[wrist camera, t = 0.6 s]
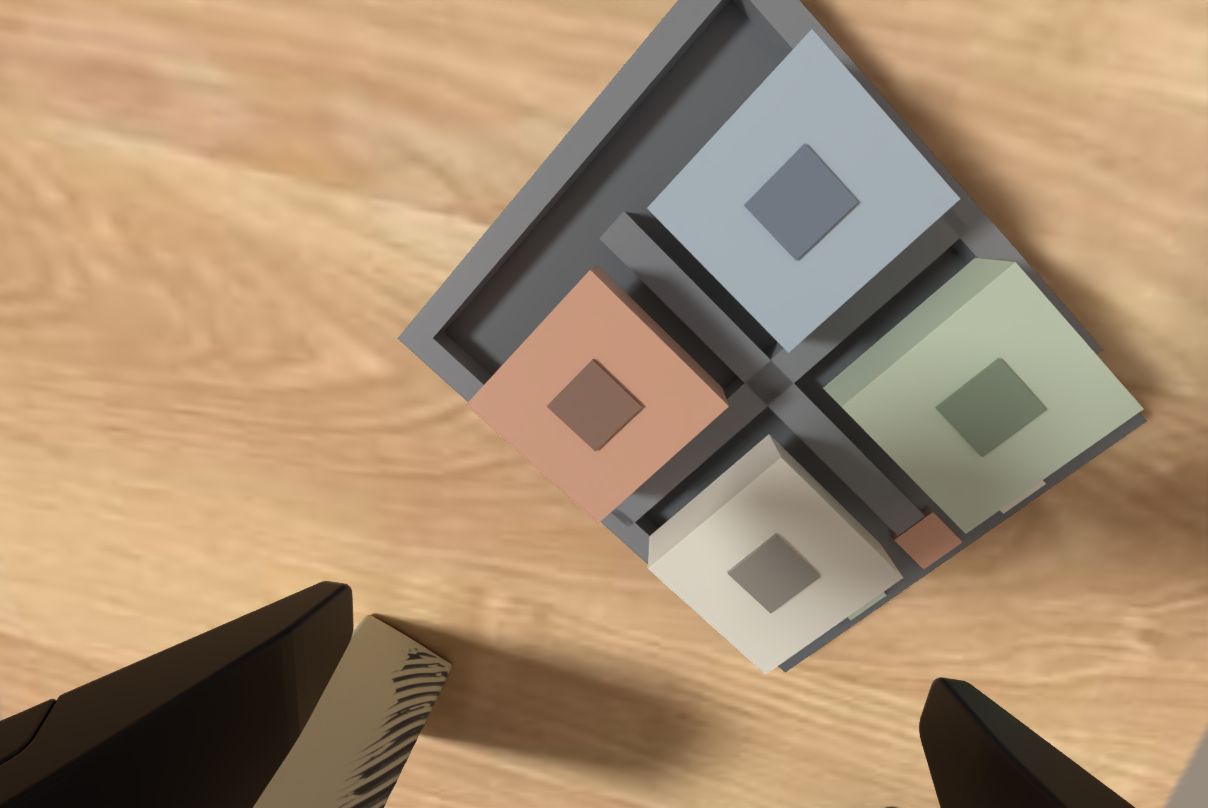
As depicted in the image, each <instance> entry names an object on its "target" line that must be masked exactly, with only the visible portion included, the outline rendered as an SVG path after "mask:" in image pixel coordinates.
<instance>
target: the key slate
mask: <svg viewBox="0 0 1208 808" xmlns="http://www.w3.org/2000/svg"><path fill="white" fill-rule="evenodd" d="M959 200H960V198H959V197H958V196H957V194H956V193H955V192H954V191H953V190H952V189H951V188H950V186H949V185H948V184H947V183H946V182H945V181H944V180H943V178H942V177H941V176H940V175H939V174H938V173H937V172H936V170H935V169H934V168H933V167H932V166H931V165H930V164H929V162H928V161H927V160H926V159H925V158H924V157H923V156H922V154H921V153H920V152H919V151H918V150H917V149H916V148H915V146H914V145H913V144H912V143H911V142H910V141H909V140H908V138H907V137H906V136H905V135H904V134H903V133H902V131H901V130H900V129H899V128H898V127H897V126H896V125H895V123H894V122H893V121H892V120H891V119H890V118H889V117H888V115H887V114H886V113H885V112H884V111H883V110H882V109H881V107H880V106H879V105H878V104H877V103H876V102H875V101H874V99H873V98H872V97H871V96H870V95H869V94H868V93H867V91H866V90H865V89H864V88H863V87H862V86H861V85H860V83H859V82H858V81H857V80H856V79H855V78H854V77H853V75H852V74H851V73H850V72H849V71H848V70H847V69H846V67H845V66H844V65H843V64H842V63H841V62H840V61H839V59H838V58H837V57H836V56H835V55H834V54H833V52H832V51H831V50H830V49H829V48H828V47H827V46H826V44H825V43H824V42H823V41H822V40H821V39H820V38H819V36H818V35H817V34H816V33H815V32H814V31H813V30H812V29H811V30H810V32H809V33H808V34H807V35H806V36H805V37H804V38H803V39H802V40H801V41H800V42H799V43H798V45H797V46H796V47H795V48H794V49H793V50H792V51H791V52H790V53H789V54H788V55H787V57H786V58H785V59H784V60H783V61H782V62H781V63H780V64H779V65H778V66H777V67H776V68H775V70H774V71H773V72H772V73H771V74H770V75H769V76H768V77H767V78H766V79H765V80H764V81H763V83H762V84H761V85H760V86H759V87H758V88H757V89H756V90H755V91H754V92H753V93H752V95H751V96H750V97H749V98H748V99H747V100H746V101H745V102H744V103H743V104H742V105H741V106H740V108H739V109H738V110H737V111H736V112H735V113H734V114H733V115H732V116H731V117H730V118H729V120H728V121H727V122H726V123H725V124H724V125H723V126H722V127H721V128H720V129H719V130H718V131H717V133H716V134H715V135H714V136H713V137H712V138H711V139H710V140H709V141H708V142H707V143H706V144H705V146H704V147H703V148H702V149H701V150H700V151H699V152H698V153H697V154H696V155H695V156H694V158H693V159H692V160H691V161H690V162H689V163H688V164H687V165H686V166H685V167H684V168H683V169H682V171H681V172H680V173H679V174H678V175H677V176H676V177H675V178H674V179H673V180H672V181H671V183H670V184H669V185H668V186H667V187H666V188H665V189H664V190H663V191H662V192H661V193H660V194H659V196H658V197H657V198H656V199H655V200H654V201H653V202H652V203H651V204H650V205H649V206H648V207H647V209H648V210H649V211H650V212H651V213H652V214H653V215H654V216H655V217H656V218H657V219H658V220H659V221H660V222H661V223H662V224H663V225H664V226H665V227H666V228H667V229H668V230H669V231H670V232H671V233H672V234H673V235H674V236H675V237H676V238H677V239H678V240H679V241H680V242H681V244H682V245H683V246H684V247H685V248H686V249H687V250H688V251H689V252H690V253H691V254H692V255H693V256H694V257H695V258H696V259H697V260H698V261H699V262H700V263H701V264H702V265H703V266H704V267H705V268H706V269H707V270H708V271H709V272H710V273H711V274H712V275H713V276H714V277H715V278H716V279H717V280H718V281H719V282H720V283H721V284H722V285H723V286H724V287H725V288H726V289H727V291H728V292H729V293H730V294H731V295H732V296H733V297H734V298H735V299H736V300H737V301H738V302H739V303H740V304H741V305H742V306H743V307H744V308H745V309H746V310H747V311H748V312H749V313H750V314H751V315H752V316H753V317H754V318H755V319H756V320H757V321H758V322H759V323H760V324H761V325H762V326H763V327H764V328H765V329H766V330H767V331H768V332H769V333H770V334H771V335H772V336H773V338H774V339H775V340H776V341H777V342H778V343H779V344H780V345H781V346H782V347H783V348H784V349H785V350H786V351H787V352H788V353H789V352H790V351H791V350H792V349H794V348H795V347H796V346H797V345H798V344H799V343H800V342H801V341H802V340H804V339H805V338H806V337H807V336H808V335H809V334H810V333H811V332H812V331H814V330H815V329H816V328H817V327H818V326H819V325H820V324H821V323H823V322H824V321H825V320H826V319H827V318H828V317H829V316H830V315H831V314H833V313H834V312H835V311H836V310H837V309H838V308H839V307H840V306H841V305H843V304H844V303H845V302H846V301H847V300H848V299H849V298H850V297H852V296H853V295H854V294H855V293H856V292H857V291H858V290H859V289H860V288H862V287H863V286H864V285H865V284H866V283H867V282H868V281H869V280H870V279H872V278H873V277H874V276H875V275H876V274H877V273H878V272H879V271H881V270H882V269H883V268H884V267H885V266H886V265H887V264H888V263H889V262H891V261H892V260H893V259H894V258H895V257H896V256H897V255H898V254H900V253H901V252H902V251H903V250H904V249H905V248H906V247H907V246H908V245H910V244H911V243H912V242H913V241H914V240H915V239H916V238H917V237H918V236H920V235H921V234H922V233H923V232H924V231H925V230H926V229H927V228H929V227H930V226H931V225H932V224H933V223H934V222H935V221H936V220H937V219H939V218H940V217H941V216H942V215H943V214H944V213H945V212H946V211H947V210H949V209H950V208H951V207H952V206H953V205H954V204H955V203H956V202H958V201H959Z"/></svg>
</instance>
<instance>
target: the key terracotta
mask: <svg viewBox="0 0 1208 808" xmlns="http://www.w3.org/2000/svg"><path fill="white" fill-rule="evenodd" d="M466 405H467V406H468V407H469V408H470V409H471V410H472V411H474V412H475V413H476V414H477V415H478V416H479V417H480V418H481V419H482V420H484V421H485V422H486V423H487V424H488V425H489V426H490V427H491V428H492V429H493V430H495V431H496V432H497V433H498V434H499V435H500V436H501V437H502V438H503V439H505V440H506V441H507V442H508V443H509V444H510V445H511V446H512V447H513V448H515V449H516V450H517V451H518V452H519V453H520V454H521V455H522V456H523V457H525V458H526V459H527V460H528V461H529V462H530V463H531V464H532V465H533V466H535V467H536V468H537V469H538V470H539V471H540V472H541V473H542V474H543V475H545V476H546V477H547V478H548V479H549V480H550V481H551V482H552V483H553V484H555V485H556V486H557V487H558V488H559V489H560V490H561V491H562V492H563V493H564V494H566V495H567V496H568V497H569V498H570V499H571V500H572V501H573V502H574V503H576V504H577V505H578V506H579V507H580V508H581V509H582V510H583V511H584V512H586V513H587V514H588V515H589V516H590V517H591V518H592V519H593V520H594V521H596V522H597V523H599V522H601V521H602V520H603V519H604V518H605V517H606V516H607V515H608V514H609V513H611V512H612V511H613V510H614V509H615V508H616V507H617V506H618V505H619V504H621V503H622V502H623V501H624V500H625V499H626V498H627V497H628V496H630V495H631V494H632V493H633V492H634V491H635V490H636V489H637V488H638V487H640V486H641V485H642V484H643V483H644V482H645V481H646V480H647V479H649V478H650V477H651V476H652V475H653V474H654V473H655V472H656V471H657V470H659V469H660V468H661V467H662V466H663V465H664V464H665V463H666V462H667V461H669V460H670V459H671V458H672V457H673V456H674V455H675V454H676V453H678V452H679V451H680V450H681V449H682V448H683V447H684V446H685V445H686V444H688V443H689V442H690V441H691V440H692V439H693V438H694V437H695V436H696V435H698V434H699V433H700V432H701V431H702V430H703V429H704V428H705V427H707V426H708V425H709V424H710V423H711V422H712V421H713V420H714V419H715V418H717V417H718V416H719V415H720V414H721V413H722V412H723V411H724V410H725V409H727V408H728V407H729V405H728V402H727V399H726V397H725V394H724V391H723V388H722V387H721V386H720V385H719V384H718V383H717V382H716V381H715V380H714V379H713V378H712V377H711V376H710V375H709V374H708V373H707V372H706V371H705V370H704V369H703V368H702V367H701V366H700V365H699V364H698V363H697V362H696V361H695V360H694V359H693V358H692V357H691V356H690V355H689V354H688V353H687V352H686V351H685V350H684V349H683V348H682V347H681V346H679V345H678V344H677V343H676V342H675V341H674V340H673V339H672V338H671V337H670V336H669V335H668V334H667V333H666V332H665V331H664V330H663V329H662V328H661V327H660V326H659V325H658V324H657V323H656V322H655V321H654V320H653V319H652V318H651V317H650V316H649V315H648V314H647V313H646V312H645V311H644V310H643V309H642V308H641V307H640V306H639V305H638V304H637V303H636V302H635V301H634V300H633V299H632V298H631V297H630V296H629V295H628V294H627V293H626V292H625V291H624V290H623V289H622V288H621V287H620V286H619V285H618V284H617V283H616V282H615V281H614V280H613V279H612V278H611V277H610V276H609V275H608V274H607V273H605V272H604V271H603V270H602V269H601V268H600V267H599V266H598V265H597V266H596V267H594V268H592V269H591V270H590V271H589V272H588V273H587V274H586V275H585V276H584V277H583V278H582V279H581V280H580V281H579V282H578V284H577V285H576V286H575V287H574V288H573V289H572V290H571V291H570V292H569V293H568V294H567V295H566V297H565V298H564V299H563V300H562V301H561V302H560V303H559V304H558V305H557V306H556V307H555V309H554V310H553V311H552V312H551V313H550V314H549V315H548V316H547V317H546V318H545V319H544V320H543V322H542V323H541V324H540V325H539V326H538V327H537V328H536V329H535V330H534V331H533V332H532V334H531V335H530V336H529V337H528V338H527V339H526V340H525V341H524V342H523V343H522V344H521V345H520V347H519V348H518V349H517V350H516V351H515V352H514V353H513V354H512V355H511V356H510V357H509V358H508V360H507V361H506V362H505V363H504V364H503V365H502V366H501V367H500V368H499V369H498V370H497V372H496V373H495V374H494V375H493V376H492V377H491V378H490V379H489V380H488V381H487V382H486V383H485V385H484V386H483V387H482V388H481V389H480V390H479V391H478V392H477V393H476V394H475V395H474V397H473V398H472V399H471V400H470V401H469V402H468V403H467V404H466Z"/></svg>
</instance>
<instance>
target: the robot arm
mask: <svg viewBox="0 0 1208 808" xmlns="http://www.w3.org/2000/svg"><path fill="white" fill-rule="evenodd" d="M352 634H353V598H352V590H351V587H350V586H349V585H347V584H344V583H337V582H331V581H323V582H320V583H318V584H316V585H313V586H311V587H309V588H306V589H304V590H302V591H299V592H297V593H295V594H292V595H290V596H288V597H286V598H283V599H281V600H279V601H276V602H274V603H272V604H269V605H267V606H265V607H263V608H260V609H258V610H256V611H253V612H251V613H249V614H246V615H244V616H242V617H239V618H237V619H235V620H233V621H230V622H228V623H226V624H223V625H221V626H219V627H216V628H214V629H212V630H209V631H207V632H205V633H203V634H200V635H198V636H196V637H193V638H191V639H189V640H186V641H184V642H182V643H179V644H177V645H175V646H173V647H170V648H168V649H166V650H163V651H161V652H159V653H156V654H154V655H152V656H149V657H147V658H145V659H143V660H140V661H138V662H136V663H133V664H131V665H129V666H126V667H124V668H122V669H119V670H117V671H115V672H113V673H110V674H108V675H106V676H103V677H101V678H99V679H96V680H94V681H92V682H89V683H87V684H85V685H83V686H80V687H78V688H76V689H73V690H71V691H69V692H66V693H64V694H62V695H60V696H59V697H58V699H57V700H55V699H50V700H48V701H45V702H43V703H41V704H39V705H36V706H34V707H32V708H29V709H27V710H25V711H23V712H20V713H18V714H16V715H13V716H11V717H9V718H6V719H4V720H1V721H0V808H253V807H254V806H255V804H256V803H257V801H258V800H259V798H260V797H261V795H262V794H263V792H264V790H265V789H266V787H267V786H268V784H269V783H270V781H271V780H272V778H273V777H274V775H275V774H276V772H277V771H278V769H279V768H280V766H281V765H282V763H283V762H284V760H285V759H286V757H287V756H288V754H289V753H290V751H291V749H292V748H293V746H294V745H295V743H296V741H297V740H298V738H299V737H300V735H301V733H302V731H303V730H304V728H305V726H306V724H307V723H308V721H309V719H310V717H311V715H312V713H313V711H314V710H315V708H316V706H317V704H318V702H319V700H320V698H321V696H322V694H323V693H324V691H325V689H326V687H327V685H328V683H329V681H330V679H331V677H332V676H333V674H334V672H335V670H336V668H337V666H338V664H339V662H340V660H341V659H342V657H343V655H344V653H345V651H346V649H347V647H348V645H349V643H350V641H351V638H352ZM919 733H920V739H921V742H922V746H923V749H924V753H925V756H926V760H927V763H928V766H929V770H930V773H931V777H932V780H933V784H934V787H935V791H936V794H937V797H938V801H939V804H940V808H1135V807H1134V806H1132V805H1131V804H1130V803H1128V802H1127V801H1126V800H1124V799H1123V798H1122V797H1120V796H1119V795H1118V794H1116V793H1115V792H1114V791H1112V790H1111V789H1110V788H1108V787H1107V786H1106V785H1104V784H1103V783H1102V782H1100V781H1099V780H1098V779H1096V778H1095V777H1094V776H1092V775H1091V774H1090V773H1088V772H1087V771H1086V770H1084V769H1083V768H1082V767H1080V766H1079V765H1078V764H1076V763H1075V762H1074V761H1072V760H1071V759H1070V758H1068V757H1067V756H1066V755H1064V754H1063V753H1062V752H1060V751H1059V750H1058V749H1056V748H1055V747H1054V746H1052V745H1051V744H1050V743H1048V742H1047V741H1046V740H1044V739H1043V738H1042V737H1040V736H1039V735H1038V734H1036V733H1035V732H1034V731H1032V730H1031V729H1030V728H1028V727H1027V726H1026V725H1024V724H1023V723H1022V722H1020V721H1019V720H1018V719H1016V718H1015V717H1014V716H1012V715H1011V714H1010V713H1008V712H1007V711H1006V710H1004V709H1003V708H1002V707H1000V706H999V705H998V704H996V703H995V702H994V701H992V700H991V699H990V698H988V697H987V696H986V695H984V694H983V693H982V692H980V691H979V690H978V689H976V688H975V687H974V686H972V685H971V684H970V683H968V682H965V681H961V680H955V679H949V678H942V677H941V678H937V679H935V680H934V681H933V683H932V685H931V688H930V691H929V694H928V697H927V700H926V703H925V706H924V709H923V712H922V715H921V718H920V723H919Z"/></svg>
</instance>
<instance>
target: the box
mask: <svg viewBox="0 0 1208 808" xmlns="http://www.w3.org/2000/svg"><path fill="white" fill-rule="evenodd" d="M451 668H452V666H451V664H450V663H448V662H447V661H445V660H444V659H442V658H440V657H439V656H437V655H436V654H434V653H433V652H431V651H429V650H428V649H426V648H425V647H424V646H422V645H420V644H419V643H417V642H415V641H414V640H412V639H411V638H409V637H407V636H406V635H404V634H402V633H401V632H399V631H397V630H396V629H394V628H392V627H390V626H389V625H387V624H385V623H383V622H382V621H380V620H378V619H376V618H375V617H373V616H370V615H368V616H366V617H365V618H364V619H363V620H362V621H361V622H360V623H359V625H358V626H357V627H356V629H355V630H354V631H353V634H352V638H351V641H350V643H349V645H348V647H347V649H346V651H345V653H344V655H343V657H342V659H341V660H340V662H339V664H338V666H337V668H336V670H335V672H334V674H333V676H332V677H331V679H330V681H329V683H328V685H327V687H326V689H325V691H324V693H323V694H322V696H321V698H320V700H319V702H318V704H317V706H316V708H315V710H314V711H313V713H312V715H311V717H310V719H309V721H308V723H307V724H306V726H305V728H304V730H303V731H302V733H301V735H300V737H299V738H298V740H297V741H296V743H295V745H294V746H293V748H292V749H291V751H290V753H289V754H288V756H287V757H286V759H285V760H284V762H283V763H282V765H281V766H280V768H279V769H278V771H277V772H276V774H275V775H274V777H273V778H272V780H271V781H270V783H269V784H268V786H267V787H266V789H265V790H264V792H263V794H262V795H261V797H260V798H259V800H258V801H257V803H256V804H255V806H254V807H253V808H384V806H385V804H386V802H387V800H388V797H389V795H390V793H391V791H392V790H393V788H394V786H395V784H396V782H397V780H398V777H399V775H400V773H401V771H402V769H403V767H404V765H405V763H406V761H407V759H408V757H409V755H410V753H411V750H412V748H413V746H414V745H415V743H416V741H417V738H418V736H419V734H420V732H421V730H422V728H423V727H424V725H425V722H426V720H427V718H428V716H429V714H430V712H431V710H432V708H433V706H434V704H435V702H436V700H437V697H438V696H439V694H440V692H441V689H442V687H443V685H444V683H445V681H446V679H447V677H448V675H449V673H450V671H451Z"/></svg>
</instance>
